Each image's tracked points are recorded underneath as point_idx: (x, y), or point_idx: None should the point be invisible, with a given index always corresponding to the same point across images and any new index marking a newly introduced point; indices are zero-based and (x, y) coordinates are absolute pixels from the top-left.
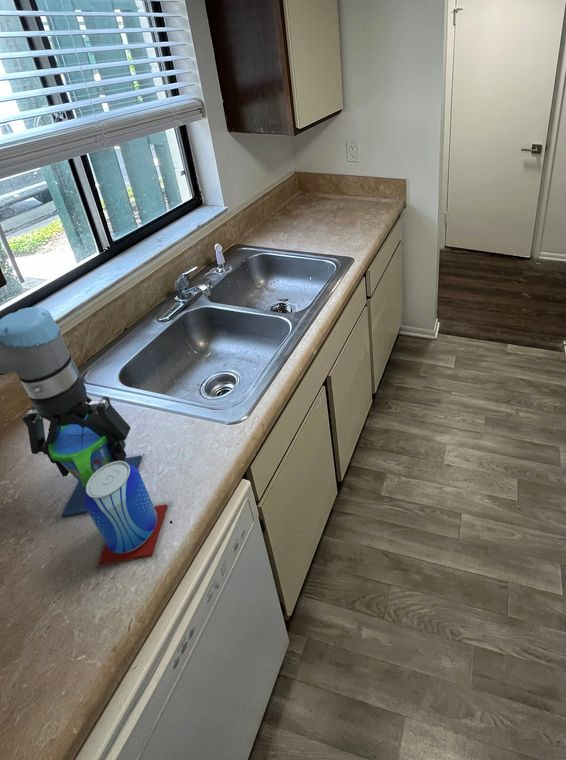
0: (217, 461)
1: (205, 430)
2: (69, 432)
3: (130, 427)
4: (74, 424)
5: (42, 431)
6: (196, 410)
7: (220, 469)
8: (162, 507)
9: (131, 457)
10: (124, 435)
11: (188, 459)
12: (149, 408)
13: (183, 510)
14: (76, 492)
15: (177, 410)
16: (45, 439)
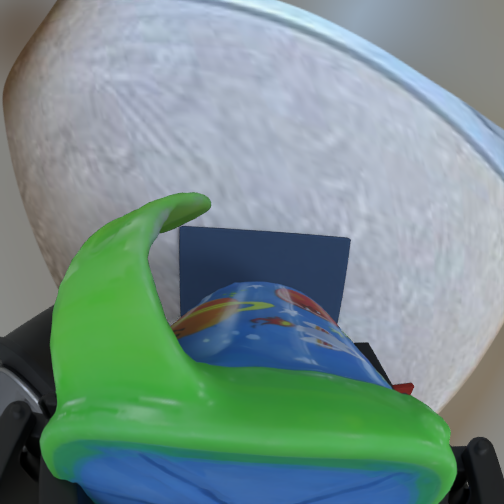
0: (496, 297)
1: (484, 194)
2: (132, 494)
3: (491, 444)
4: (116, 467)
5: (7, 494)
6: (454, 107)
7: (495, 317)
8: (406, 390)
9: (320, 237)
10: (462, 490)
11: (457, 278)
12: (310, 38)
13: (433, 389)
14: None
15: (405, 79)
16: (25, 423)
